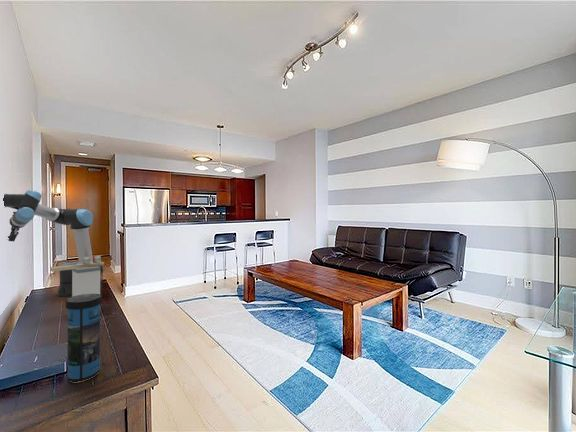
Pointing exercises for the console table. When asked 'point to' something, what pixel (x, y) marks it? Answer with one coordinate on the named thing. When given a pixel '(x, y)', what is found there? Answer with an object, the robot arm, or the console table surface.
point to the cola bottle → (100, 279)
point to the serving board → (85, 264)
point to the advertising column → (83, 336)
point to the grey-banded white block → (86, 281)
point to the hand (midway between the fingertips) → (10, 229)
